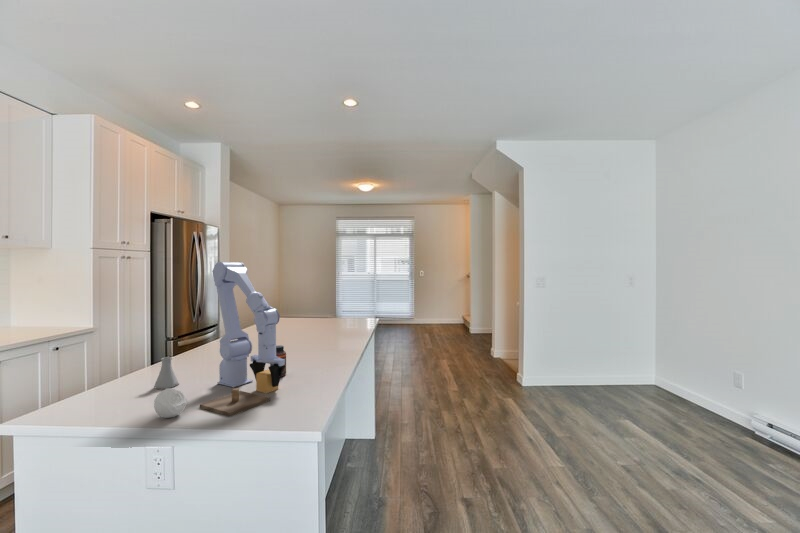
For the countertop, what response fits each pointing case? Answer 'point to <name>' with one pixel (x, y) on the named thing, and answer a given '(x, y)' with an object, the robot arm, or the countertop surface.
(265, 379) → the golden yellow cube
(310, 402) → the countertop surface
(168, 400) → the white ridged ball
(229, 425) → the countertop surface
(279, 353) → the supplement bottle
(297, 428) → the countertop surface
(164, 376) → the flask
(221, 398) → the flat brown square board
